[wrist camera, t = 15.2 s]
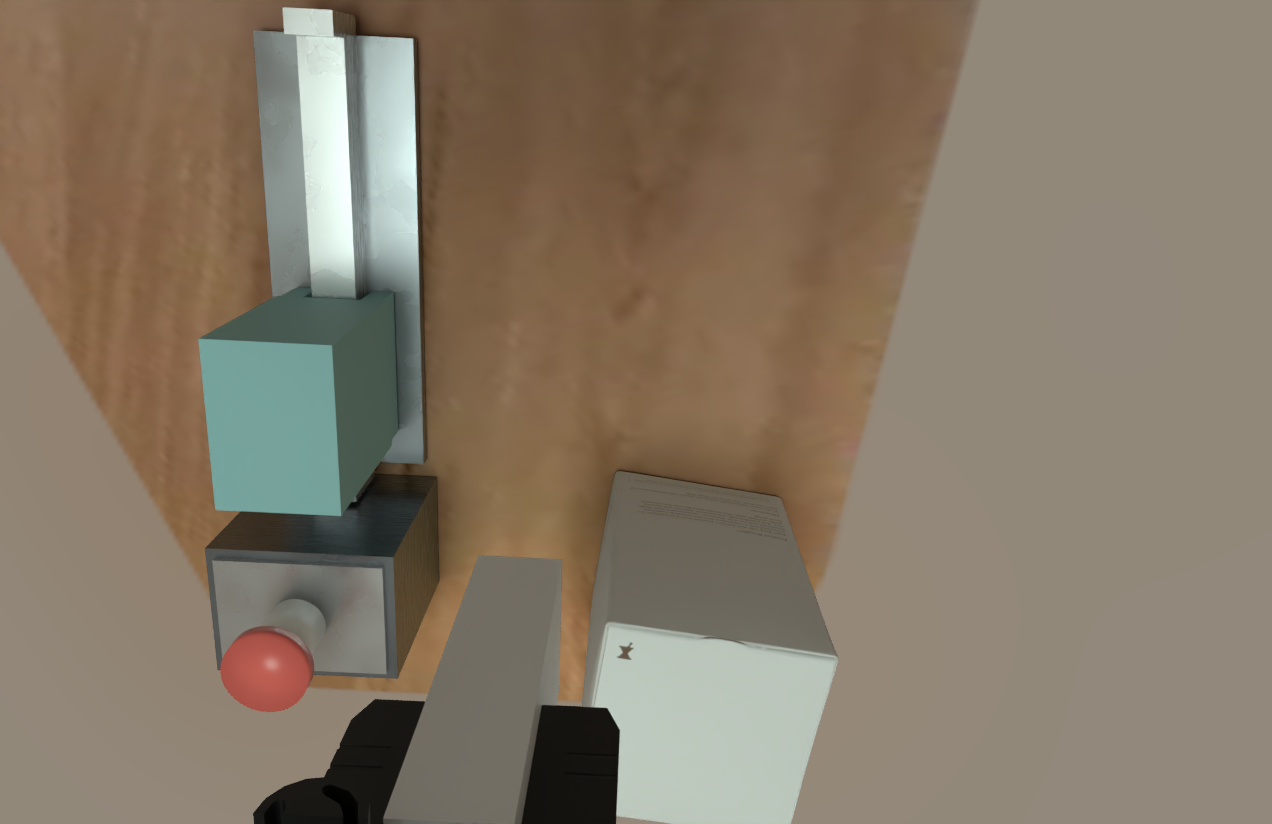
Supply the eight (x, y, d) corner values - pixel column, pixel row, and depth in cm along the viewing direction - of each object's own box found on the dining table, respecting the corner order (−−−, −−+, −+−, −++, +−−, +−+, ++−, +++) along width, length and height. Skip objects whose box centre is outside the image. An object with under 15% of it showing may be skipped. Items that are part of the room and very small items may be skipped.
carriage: (292, 287, 45) (198, 338, 36) (397, 292, 45) (331, 345, 36) (301, 426, 48) (215, 509, 38) (402, 431, 48) (341, 516, 38)
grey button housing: (281, 469, 49) (201, 551, 41) (437, 476, 49) (391, 560, 41) (289, 573, 51) (215, 673, 42) (439, 580, 51) (396, 682, 42)
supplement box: (586, 618, 52) (563, 816, 38) (614, 466, 49) (600, 618, 35) (750, 644, 52) (789, 850, 38) (787, 495, 50) (844, 658, 35)
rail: (258, 11, 42) (220, 4, 39) (416, 20, 43) (394, 13, 39) (290, 466, 49) (261, 497, 46) (427, 472, 49) (409, 504, 46)
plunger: (254, 586, 41) (216, 634, 37) (335, 590, 41) (304, 639, 37) (260, 656, 42) (224, 710, 38) (339, 659, 42) (310, 714, 38)
